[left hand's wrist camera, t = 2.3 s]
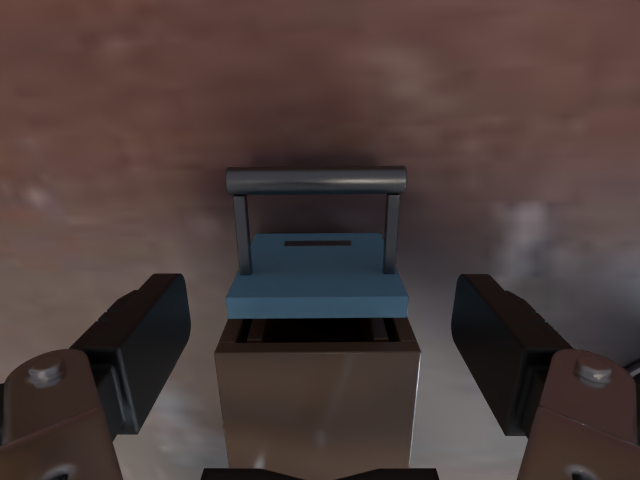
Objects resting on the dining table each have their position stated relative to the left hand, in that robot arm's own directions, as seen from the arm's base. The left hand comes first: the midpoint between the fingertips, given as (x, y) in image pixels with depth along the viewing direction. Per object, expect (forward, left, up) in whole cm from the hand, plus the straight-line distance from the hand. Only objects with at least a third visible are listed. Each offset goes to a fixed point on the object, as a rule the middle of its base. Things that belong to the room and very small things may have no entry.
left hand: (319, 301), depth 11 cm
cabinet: (-13, +9, -16) cm, 23 cm away
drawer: (-8, +5, -15) cm, 18 cm away
